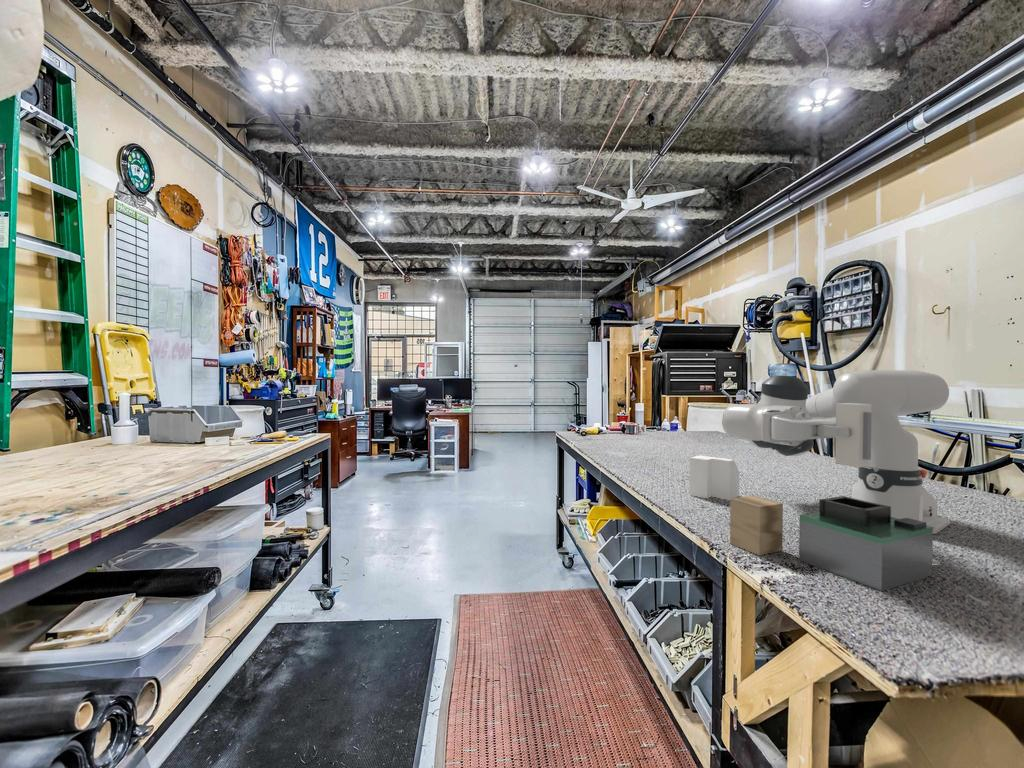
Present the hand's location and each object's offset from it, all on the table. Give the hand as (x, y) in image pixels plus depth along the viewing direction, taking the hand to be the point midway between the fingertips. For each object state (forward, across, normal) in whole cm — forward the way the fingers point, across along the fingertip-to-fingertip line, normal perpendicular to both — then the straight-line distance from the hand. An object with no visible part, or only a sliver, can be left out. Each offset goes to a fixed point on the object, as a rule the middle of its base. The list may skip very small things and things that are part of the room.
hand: (858, 432), depth 84 cm
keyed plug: (-1, 0, -7) cm, 7 cm away
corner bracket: (-49, -17, -26) cm, 58 cm away
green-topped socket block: (+1, 0, -26) cm, 26 cm away
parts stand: (-14, +10, -26) cm, 31 cm away
